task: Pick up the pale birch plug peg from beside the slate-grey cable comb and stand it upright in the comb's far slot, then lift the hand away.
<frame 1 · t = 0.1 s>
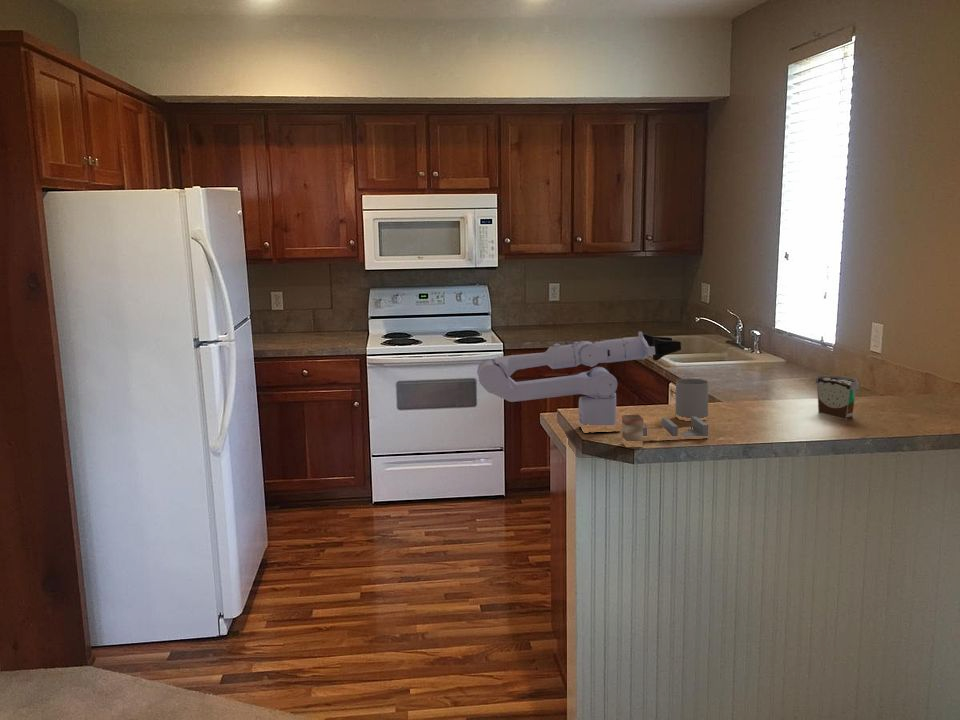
hand: (676, 343, 197), 22 cm above the counter, tool horizontal, fingers open, 7 cm apart
comb: (669, 435, 191), on the counter
food container: (840, 415, 206), on the counter
cup: (691, 418, 208), on the counter
peg: (632, 445, 184), on the counter
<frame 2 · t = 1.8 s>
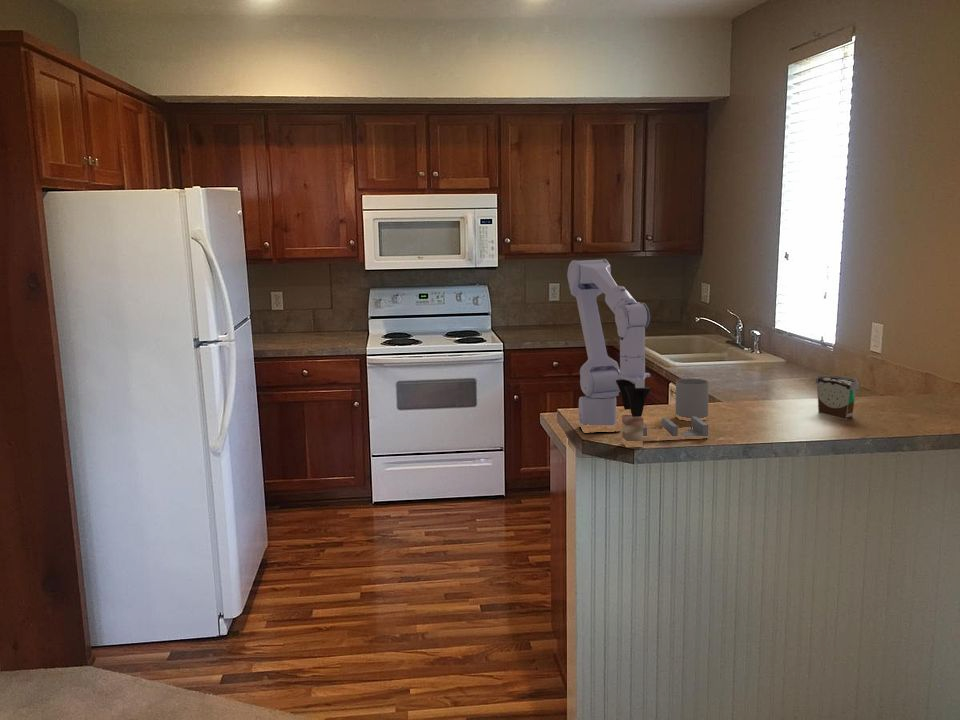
hand: (632, 412, 182), 8 cm above the counter, tool pointing down, fingers open, 7 cm apart
nothing on the counter moved.
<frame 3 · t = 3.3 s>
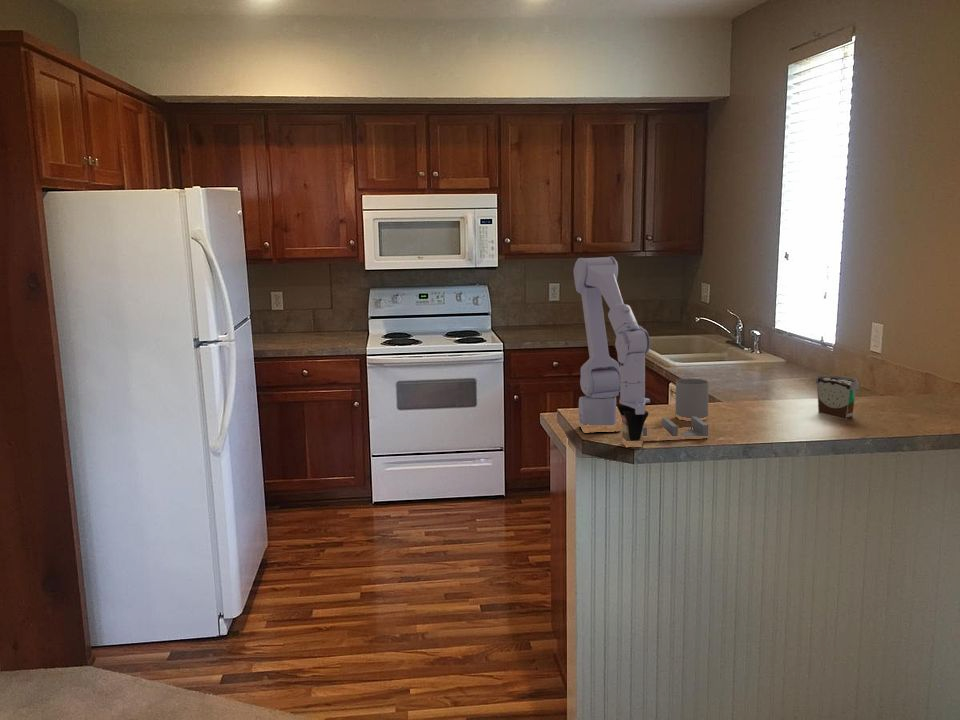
hand: (632, 437, 183), 2 cm above the counter, tool pointing down, fingers closed on peg, 4 cm apart
peg: (632, 445, 184), on the counter, touching gripper
everything else where it was.
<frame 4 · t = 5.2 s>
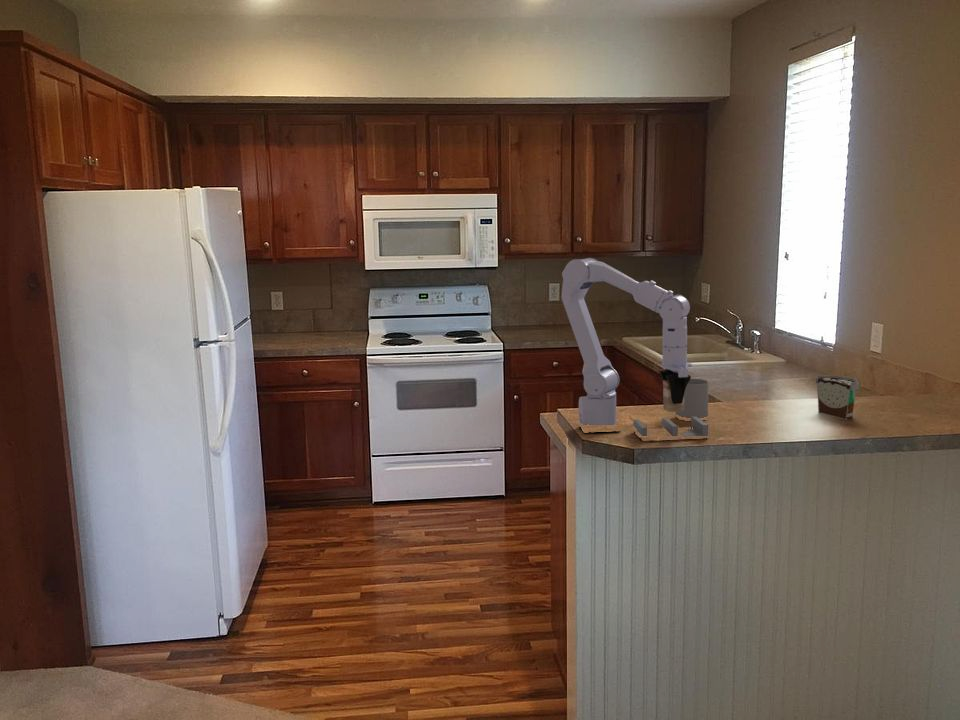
hand: (674, 401, 188), 9 cm above the counter, tool pointing down, fingers closed on peg, 4 cm apart
peg: (673, 409, 189), point 7 cm above the counter, touching gripper
everything else where it was.
when the fingers open (4 cm above the counter, at t = 7.2 s): peg drops 1 cm, resting on comb.
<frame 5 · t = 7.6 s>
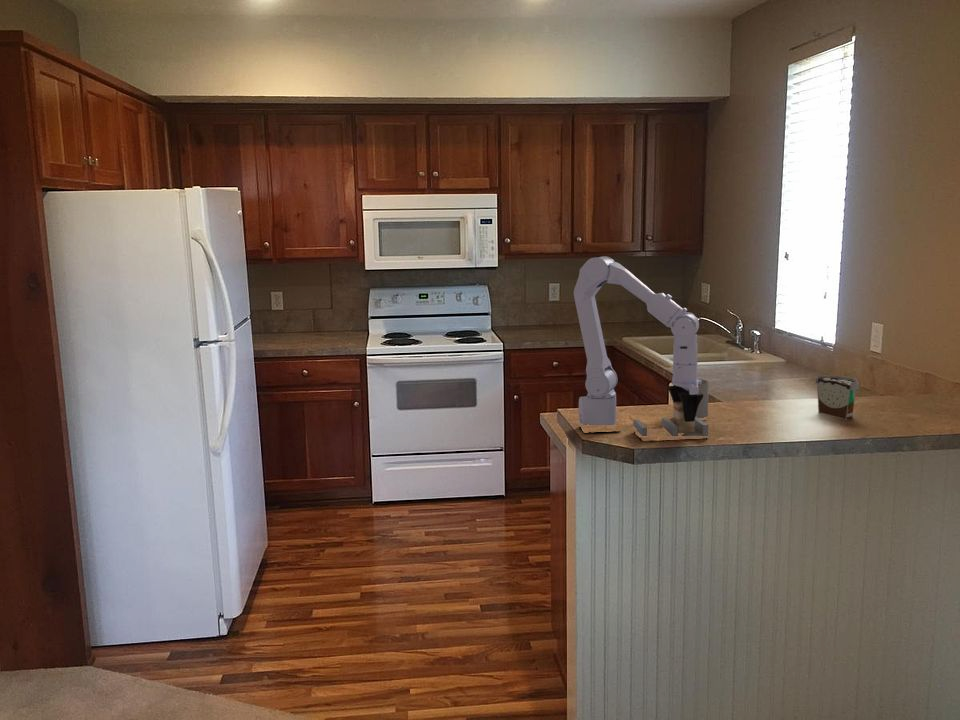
hand: (684, 417, 191), 4 cm above the counter, tool pointing down, fingers open, 7 cm apart
peg: (684, 431, 191), point 1 cm above the counter, touching comb
everything else where it was.
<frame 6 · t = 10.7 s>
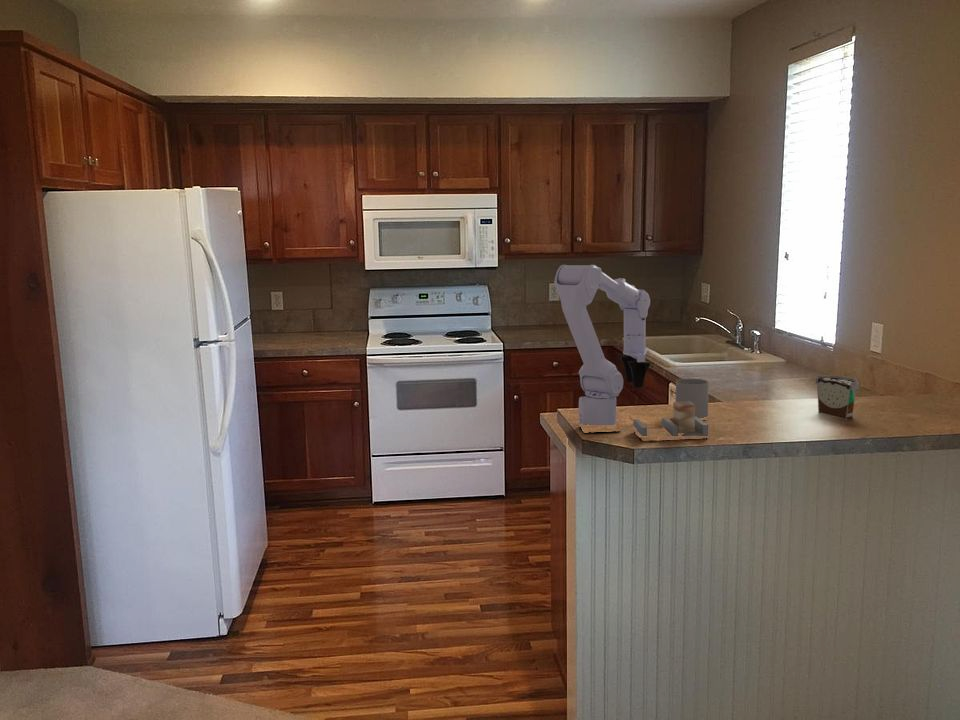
hand: (634, 384, 208), 9 cm above the counter, tool pointing down, fingers open, 7 cm apart
nothing on the counter moved.
at the end: peg 0.1 cm from the target spot on the comb, point 1.0 cm above the comb's base; peg tilted 0°; the gripper is holding nothing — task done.
